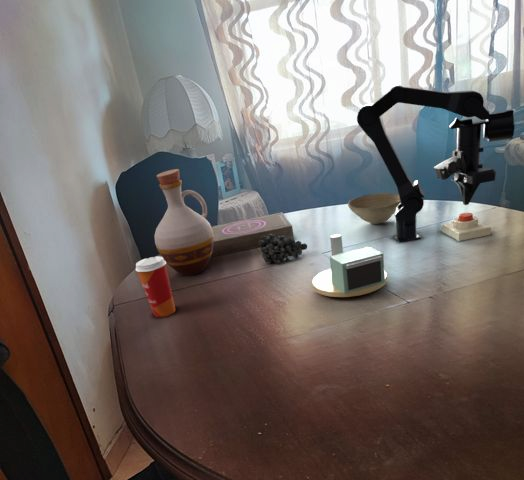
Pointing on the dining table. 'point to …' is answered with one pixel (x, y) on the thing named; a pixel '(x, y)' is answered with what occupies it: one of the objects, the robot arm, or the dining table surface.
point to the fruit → (279, 248)
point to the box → (466, 229)
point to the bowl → (375, 206)
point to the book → (248, 233)
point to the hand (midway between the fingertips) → (466, 204)
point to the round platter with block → (351, 271)
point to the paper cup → (156, 285)
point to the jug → (183, 229)
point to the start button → (465, 217)
